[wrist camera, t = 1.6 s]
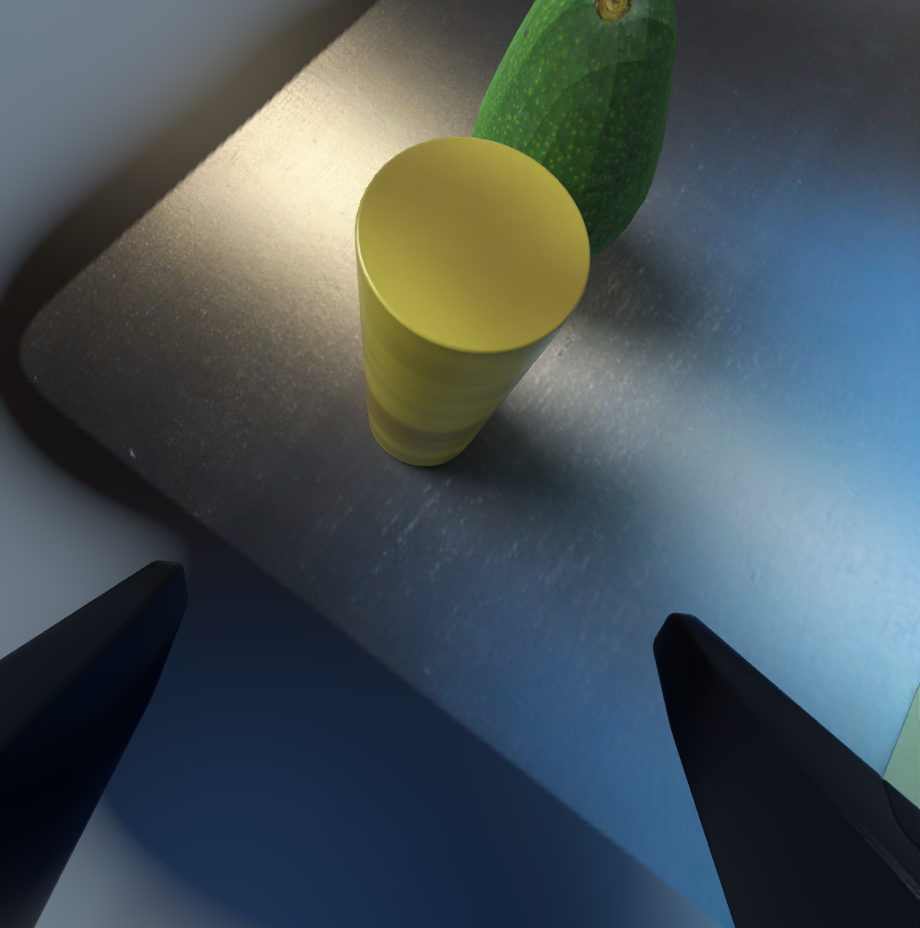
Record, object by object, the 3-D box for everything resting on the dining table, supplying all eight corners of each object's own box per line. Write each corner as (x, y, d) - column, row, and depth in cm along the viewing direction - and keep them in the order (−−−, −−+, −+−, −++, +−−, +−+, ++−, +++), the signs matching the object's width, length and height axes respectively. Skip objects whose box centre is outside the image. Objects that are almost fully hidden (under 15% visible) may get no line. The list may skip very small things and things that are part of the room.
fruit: (436, 177, 26) (484, -139, 14) (575, 167, 27) (723, -123, 16) (468, 316, 24) (550, 98, 13) (611, 298, 26) (801, 89, 14)
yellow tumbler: (452, 484, 23) (545, 393, 10) (348, 438, 22) (310, 284, 10) (493, 388, 24) (621, 200, 11) (395, 342, 24) (415, 96, 11)
